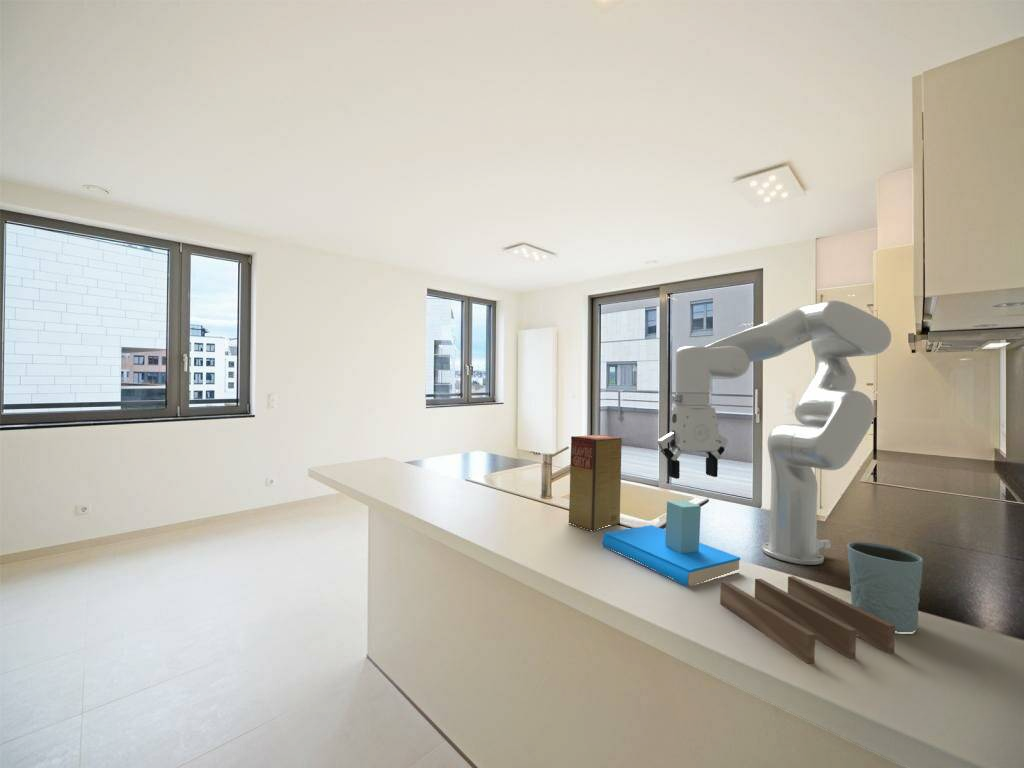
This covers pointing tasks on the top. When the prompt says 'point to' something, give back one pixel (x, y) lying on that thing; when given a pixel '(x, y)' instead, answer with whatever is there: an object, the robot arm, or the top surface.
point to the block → (683, 526)
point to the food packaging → (595, 481)
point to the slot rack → (807, 618)
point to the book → (670, 555)
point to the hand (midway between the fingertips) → (692, 476)
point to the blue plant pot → (886, 583)
